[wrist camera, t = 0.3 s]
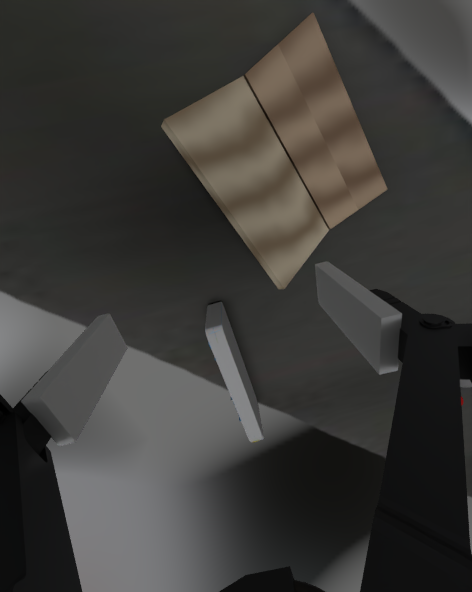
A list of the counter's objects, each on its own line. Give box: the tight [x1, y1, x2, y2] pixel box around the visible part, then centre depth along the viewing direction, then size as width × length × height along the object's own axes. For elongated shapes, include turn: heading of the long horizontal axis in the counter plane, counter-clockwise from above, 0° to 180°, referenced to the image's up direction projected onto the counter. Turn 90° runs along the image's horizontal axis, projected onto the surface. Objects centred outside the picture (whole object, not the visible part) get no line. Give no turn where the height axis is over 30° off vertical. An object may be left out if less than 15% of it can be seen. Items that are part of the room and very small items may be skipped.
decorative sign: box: [205, 301, 264, 442], centre depth 47 cm, size 32×4×10 cm, turn 16°
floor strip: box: [244, 13, 387, 229], centre depth 35 cm, size 24×10×1 cm, turn 36°
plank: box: [161, 76, 329, 289], centre depth 33 cm, size 24×14×1 cm
